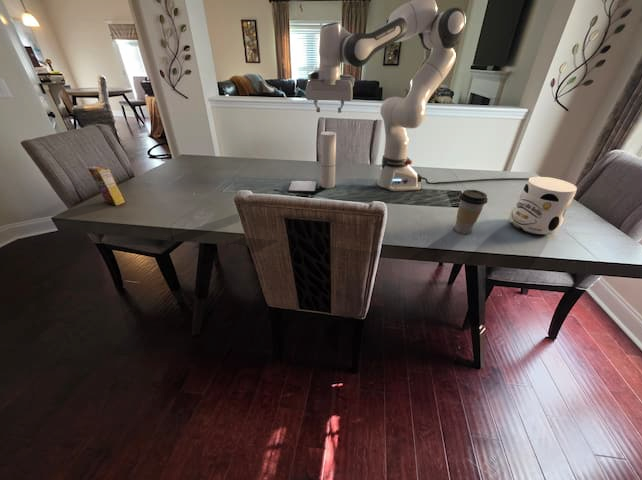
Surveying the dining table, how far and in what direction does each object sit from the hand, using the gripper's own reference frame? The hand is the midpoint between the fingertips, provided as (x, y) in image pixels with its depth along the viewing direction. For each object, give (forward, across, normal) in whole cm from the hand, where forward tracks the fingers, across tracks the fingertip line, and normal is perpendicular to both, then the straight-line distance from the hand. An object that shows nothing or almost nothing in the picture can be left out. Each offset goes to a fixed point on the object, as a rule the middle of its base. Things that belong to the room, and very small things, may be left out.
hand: (328, 112), depth 125 cm
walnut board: (+34, +12, +4) cm, 36 cm away
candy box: (+34, +95, +27) cm, 105 cm away
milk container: (+34, -83, +38) cm, 98 cm away
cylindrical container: (+34, 0, 0) cm, 34 cm away
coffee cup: (+34, -55, +42) cm, 77 cm away
